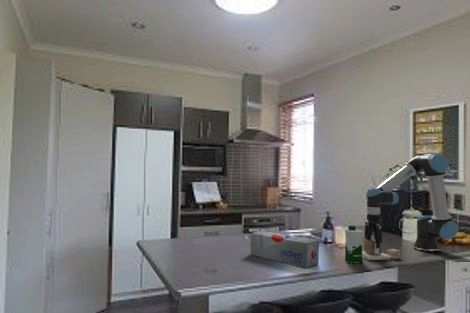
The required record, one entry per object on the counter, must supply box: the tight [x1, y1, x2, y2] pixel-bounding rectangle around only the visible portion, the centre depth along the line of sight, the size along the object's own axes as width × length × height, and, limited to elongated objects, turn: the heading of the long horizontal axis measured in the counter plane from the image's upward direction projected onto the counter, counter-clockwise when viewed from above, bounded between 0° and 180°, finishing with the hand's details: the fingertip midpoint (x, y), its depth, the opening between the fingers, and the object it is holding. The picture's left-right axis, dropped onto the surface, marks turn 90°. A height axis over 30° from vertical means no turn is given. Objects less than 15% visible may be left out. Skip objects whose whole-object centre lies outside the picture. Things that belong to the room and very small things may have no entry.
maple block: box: [386, 248, 401, 257], centre depth 216 cm, size 5×5×5 cm
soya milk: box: [344, 225, 365, 264], centre depth 206 cm, size 9×9×20 cm
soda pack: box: [250, 230, 320, 269], centre depth 207 cm, size 41×13×14 cm, turn 45°
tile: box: [362, 250, 391, 259], centre depth 216 cm, size 14×14×2 cm
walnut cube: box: [363, 239, 383, 254], centre depth 216 cm, size 7×7×7 cm
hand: (372, 252), depth 216 cm, fingers closed on walnut cube, 7 cm apart
